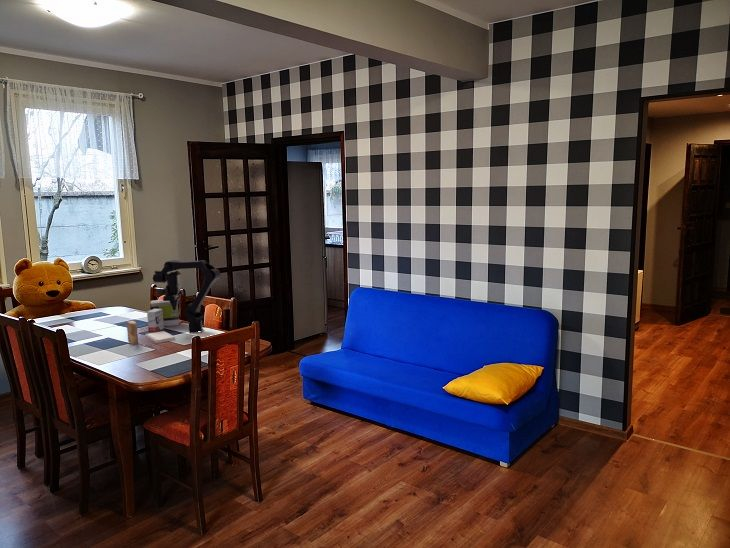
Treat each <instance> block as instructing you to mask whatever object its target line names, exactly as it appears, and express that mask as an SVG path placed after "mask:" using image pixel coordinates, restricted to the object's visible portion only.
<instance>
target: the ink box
mask: <svg viewBox="0 0 730 548" xmlns="http://www.w3.org/2000/svg"><path fill="white" fill-rule="evenodd" d="M146 315H147V316H146V317H147V327H148V332H149V333H155V332H160V331H163V330H164V328H165V326H164V323H163V310H162V309H153V310H151V309H150V310H147V312H146ZM159 330H160V331H159Z"/></svg>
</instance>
